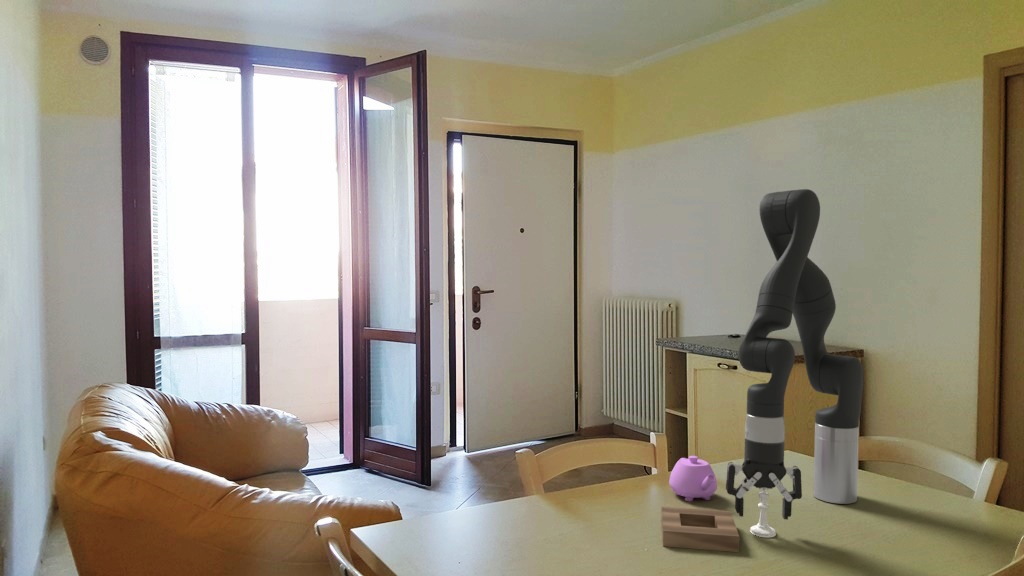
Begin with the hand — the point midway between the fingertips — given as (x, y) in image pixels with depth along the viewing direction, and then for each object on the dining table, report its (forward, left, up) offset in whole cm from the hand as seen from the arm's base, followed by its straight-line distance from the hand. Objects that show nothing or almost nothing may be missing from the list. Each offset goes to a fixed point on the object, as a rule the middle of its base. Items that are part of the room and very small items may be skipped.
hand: (762, 516), depth 145 cm
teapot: (-20, -12, -4) cm, 24 cm away
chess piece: (0, 0, -4) cm, 4 cm away
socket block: (+4, -13, -3) cm, 14 cm away
